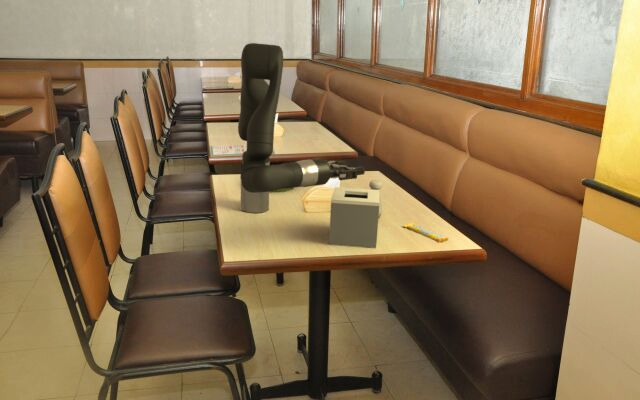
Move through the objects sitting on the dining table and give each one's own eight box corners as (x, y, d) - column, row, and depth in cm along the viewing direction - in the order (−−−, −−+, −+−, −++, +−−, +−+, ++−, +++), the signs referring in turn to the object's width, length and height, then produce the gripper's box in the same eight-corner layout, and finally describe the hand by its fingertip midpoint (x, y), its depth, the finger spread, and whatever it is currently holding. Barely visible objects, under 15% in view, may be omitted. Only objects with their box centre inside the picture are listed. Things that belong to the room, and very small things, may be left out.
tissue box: (328, 244, 175) (331, 199, 171) (332, 229, 188) (334, 187, 184) (376, 248, 173) (379, 202, 169) (376, 232, 187) (379, 190, 183)
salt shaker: (380, 221, 198) (383, 183, 194) (363, 219, 199) (366, 182, 195) (382, 215, 203) (385, 179, 200) (366, 214, 205) (368, 178, 201)
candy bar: (449, 242, 182) (450, 236, 182) (440, 244, 180) (440, 239, 179) (412, 226, 195) (413, 221, 195) (403, 228, 193) (403, 223, 192)
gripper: (324, 165, 158) (371, 159, 167) (296, 154, 169) (341, 150, 178) (323, 191, 160) (369, 185, 169) (295, 180, 171) (339, 174, 180)
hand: (354, 167), depth 174 cm, fingers open, 8 cm apart
